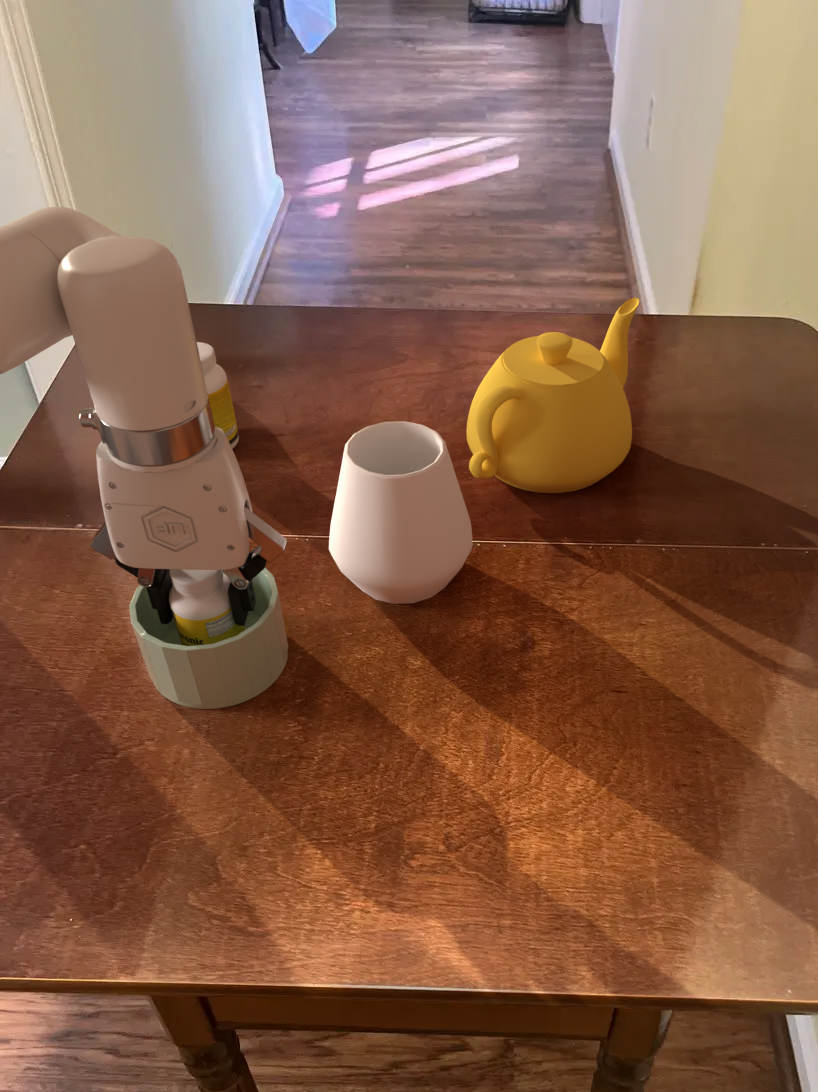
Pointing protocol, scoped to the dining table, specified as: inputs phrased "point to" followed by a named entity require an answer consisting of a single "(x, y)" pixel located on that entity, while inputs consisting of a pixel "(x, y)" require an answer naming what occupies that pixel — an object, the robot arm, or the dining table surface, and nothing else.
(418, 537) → the cup
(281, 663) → the bowl
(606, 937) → the dining table surface
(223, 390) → the pill bottle
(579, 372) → the teapot
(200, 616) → the supplement bottle
